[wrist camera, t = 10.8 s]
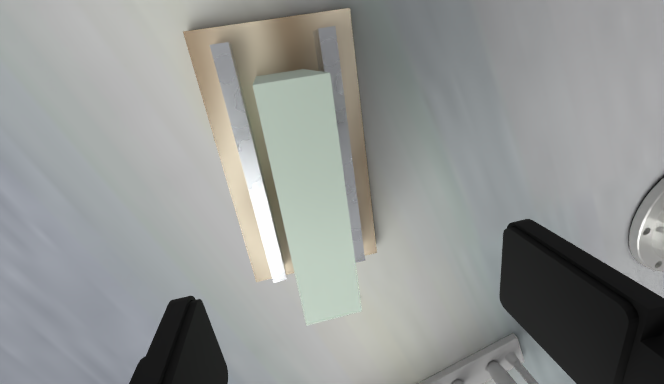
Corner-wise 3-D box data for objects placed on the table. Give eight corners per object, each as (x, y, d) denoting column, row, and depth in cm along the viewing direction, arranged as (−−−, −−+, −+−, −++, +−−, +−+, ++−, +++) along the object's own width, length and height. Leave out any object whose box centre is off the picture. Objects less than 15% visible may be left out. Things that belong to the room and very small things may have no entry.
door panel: (303, 68, 21) (330, 72, 13) (329, 231, 26) (361, 311, 17) (256, 76, 20) (252, 84, 12) (291, 240, 25) (306, 325, 17)
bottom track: (346, 10, 21) (358, 2, 18) (373, 246, 28) (385, 266, 25) (186, 33, 20) (174, 28, 17) (256, 274, 27) (256, 298, 24)
